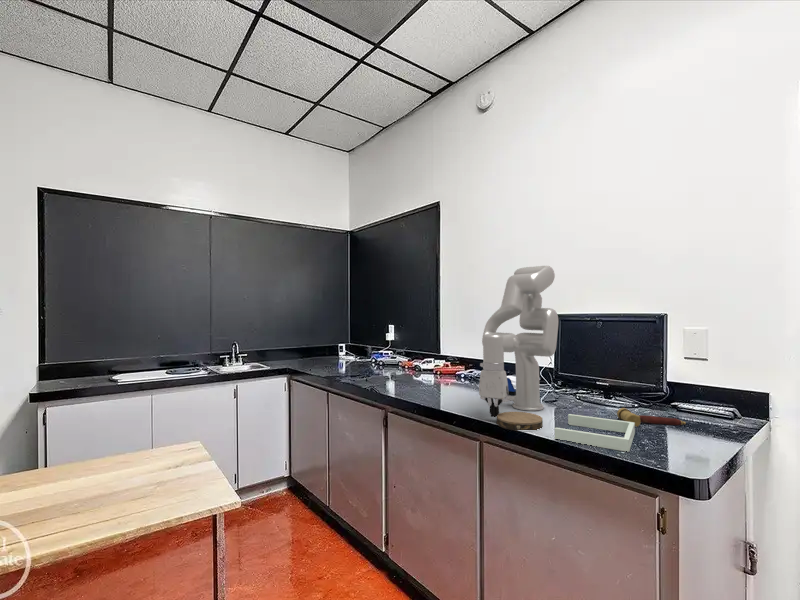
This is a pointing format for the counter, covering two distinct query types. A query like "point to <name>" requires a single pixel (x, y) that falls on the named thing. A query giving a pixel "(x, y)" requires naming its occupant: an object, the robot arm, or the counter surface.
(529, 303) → the robot arm
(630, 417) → the gavel
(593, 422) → the box
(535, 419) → the brown round disc
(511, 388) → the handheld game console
